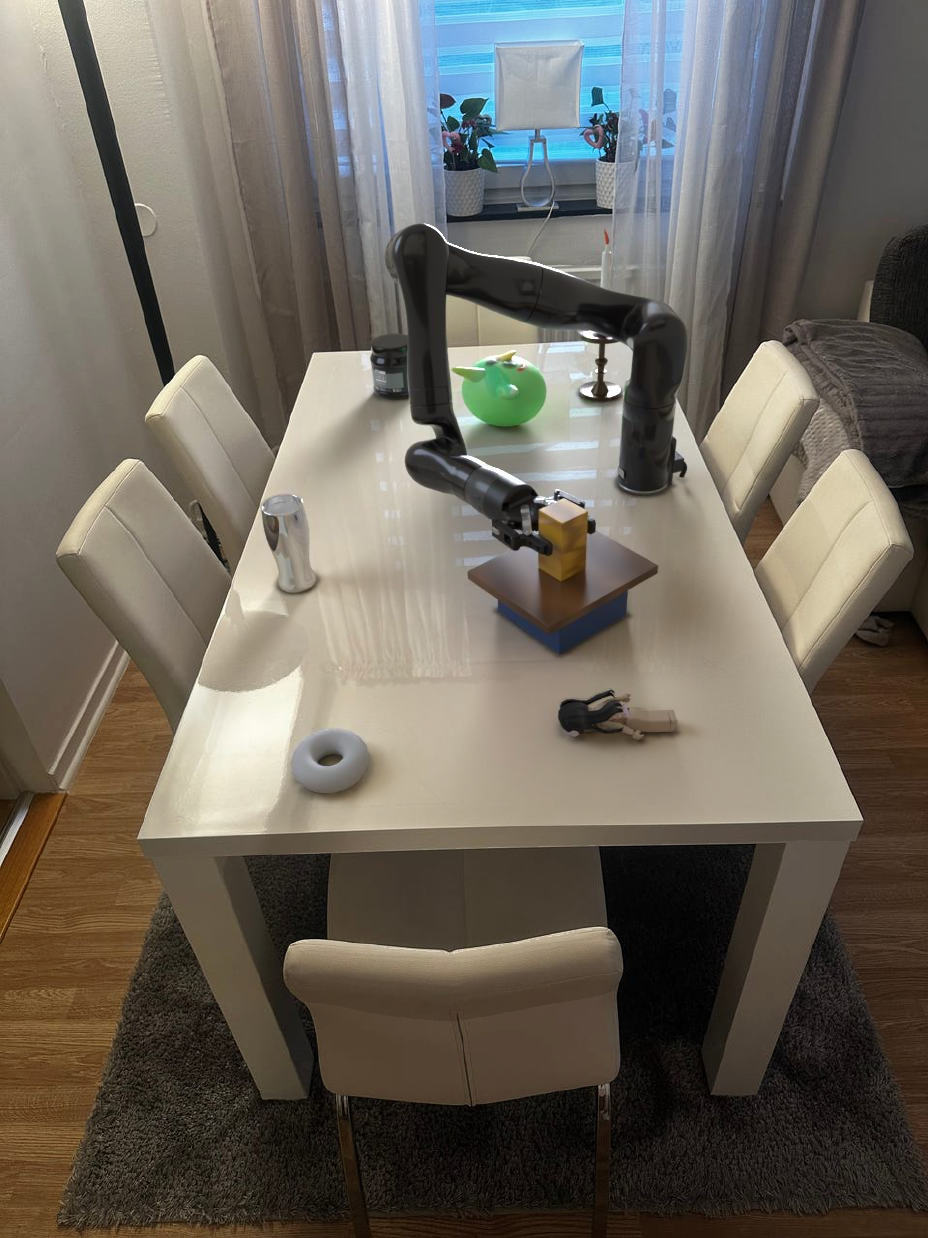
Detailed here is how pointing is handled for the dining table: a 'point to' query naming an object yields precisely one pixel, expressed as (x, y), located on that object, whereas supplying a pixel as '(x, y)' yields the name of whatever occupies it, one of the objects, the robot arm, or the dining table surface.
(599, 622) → the blue box
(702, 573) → the dining table surface
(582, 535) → the block
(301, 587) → the beer glass
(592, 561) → the board
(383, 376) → the supplement container
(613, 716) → the toy figure
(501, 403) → the toy bird
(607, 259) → the candlestick
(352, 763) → the donut
